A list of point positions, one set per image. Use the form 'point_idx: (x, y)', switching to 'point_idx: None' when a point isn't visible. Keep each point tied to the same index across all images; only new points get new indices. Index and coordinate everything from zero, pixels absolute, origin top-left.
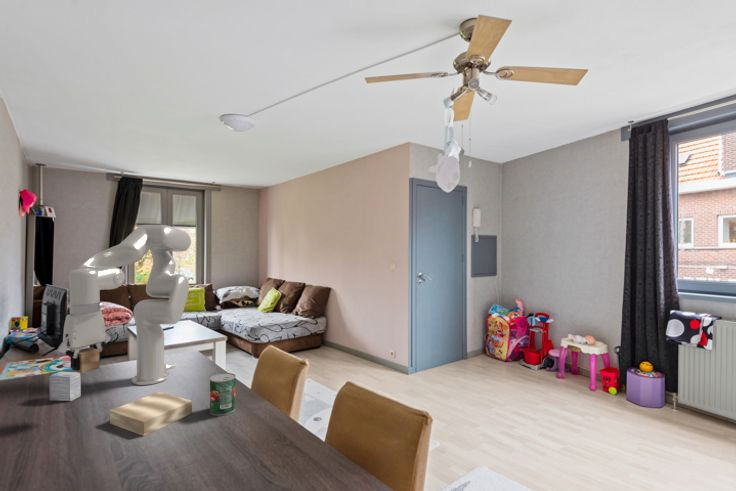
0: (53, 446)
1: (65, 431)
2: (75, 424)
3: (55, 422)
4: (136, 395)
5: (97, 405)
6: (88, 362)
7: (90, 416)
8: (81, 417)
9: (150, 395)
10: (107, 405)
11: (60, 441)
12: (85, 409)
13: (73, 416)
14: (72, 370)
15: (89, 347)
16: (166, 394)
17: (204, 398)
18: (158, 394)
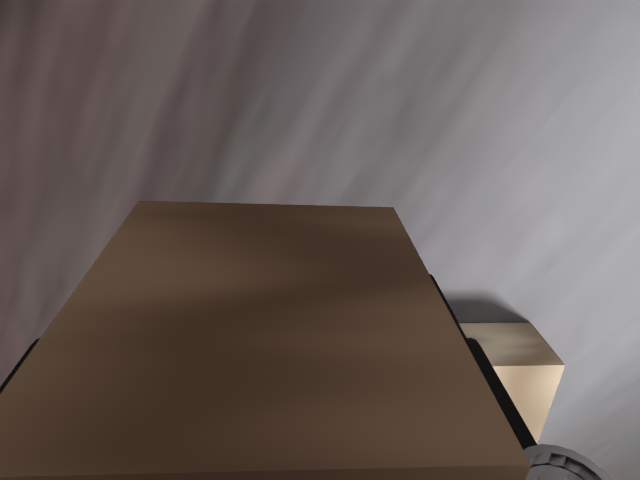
0: (24, 321)
1: (117, 223)
2: (186, 186)
3: (130, 44)
4: (608, 113)
5: (410, 27)
6: None
7: (284, 159)
8: (252, 124)
9: (507, 371)
10: (432, 94)
11: (61, 302)
12: (335, 17)
13: (235, 60)
14: (137, 203)
15: (511, 474)
16: (539, 420)
17: (622, 432)
18: (530, 392)
